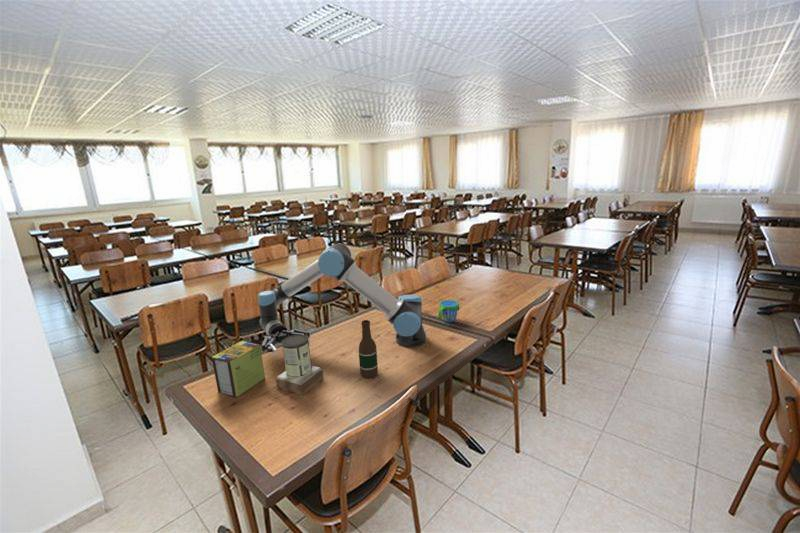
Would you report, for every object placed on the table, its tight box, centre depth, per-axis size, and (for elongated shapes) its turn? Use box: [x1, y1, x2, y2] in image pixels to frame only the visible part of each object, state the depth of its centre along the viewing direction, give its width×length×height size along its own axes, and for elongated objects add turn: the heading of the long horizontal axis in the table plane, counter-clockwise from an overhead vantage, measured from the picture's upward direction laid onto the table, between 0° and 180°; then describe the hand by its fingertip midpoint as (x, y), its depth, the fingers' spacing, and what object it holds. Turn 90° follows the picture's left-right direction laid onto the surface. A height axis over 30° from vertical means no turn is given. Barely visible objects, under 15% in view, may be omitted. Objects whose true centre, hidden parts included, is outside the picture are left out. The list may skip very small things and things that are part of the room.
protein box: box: [211, 340, 266, 398], centre depth 150 cm, size 10×15×16 cm
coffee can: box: [281, 335, 313, 379], centre depth 149 cm, size 10×10×14 cm
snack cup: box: [437, 299, 460, 323], centre depth 206 cm, size 16×10×10 cm
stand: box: [275, 365, 324, 396], centre depth 151 cm, size 13×13×5 cm
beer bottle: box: [358, 319, 379, 380], centre depth 153 cm, size 8×8×24 cm
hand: (292, 347), depth 151 cm, fingers open, 13 cm apart
